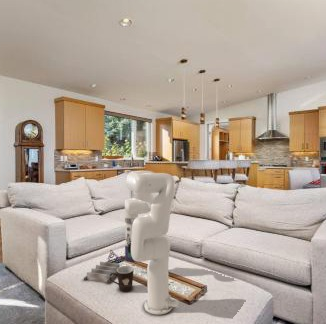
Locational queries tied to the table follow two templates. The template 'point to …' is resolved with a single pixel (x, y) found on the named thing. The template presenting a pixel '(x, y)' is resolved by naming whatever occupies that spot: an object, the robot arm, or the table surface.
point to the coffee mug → (124, 278)
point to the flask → (128, 255)
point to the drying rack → (103, 272)
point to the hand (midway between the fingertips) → (132, 251)
